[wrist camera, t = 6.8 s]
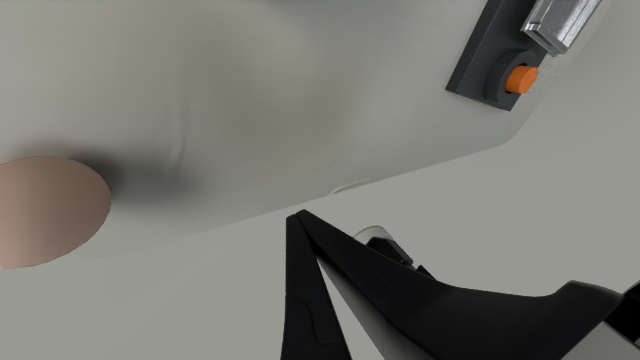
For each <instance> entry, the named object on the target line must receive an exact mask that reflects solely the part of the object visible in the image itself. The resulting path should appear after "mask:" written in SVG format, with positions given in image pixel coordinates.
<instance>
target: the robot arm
mask: <svg viewBox="0 0 640 360" xmlns="http://www.w3.org/2000/svg"><path fill="white" fill-rule="evenodd" d="M316 258H317V259H316ZM317 260H318V262H319V263H320V265H321V266H322V268H323V269H324V271H325V272H326V274H327V275H328V277H329V278H330V280H331V281H332V283H333V284H334V285H335V287H336V288H337V290H338V291H339V293H340V294H341V296H342V297H343V299H344V300H345V302H346V303H347V305H348V306H349V307H350V309H351V310H352V312H353V313H354V315H355V316H356V318H357V319H358V321H359V322H360V324H361V325H362V327H363V328H364V330H365V331H366V333H367V334H368V336H369V337H370V339H371V340H372V342H373V343H374V345H375V346H376V347H377V349H378V350H379V352H380V353H381V355H382V356H383V357H384V359H385V360H640V280H639V281H638V282H636V283H635V284H634V285H632V286H631V287H630V288H629V289H627V290H626V291H625V292H624V293H622V294H620V293H618V292H616V291H613V290H610V289H607V288H605V287H601V286H598V285H593V284H589V283H584V282H579V281H574V280H571V281H569V282H567V283H566V284H565V285H564V286H563V287H561V288H560V289H559V290H557V291H556V292H555V293H553V294H551V295H547V296H539V297H531V296H521V295H513V294H505V293H498V292H490V291H482V290H475V289H467V288H460V287H455V286H451V285H448V284H445V283H442V282H440V281H437V280H436V279H435V278H434V277H433V276H432V275H431V274H430V273H429V272H428V271H427V270H426V269H425V268H423V266H422V265H420V266H419V267H418V268H417V269H415V268H414V267H413V266H412V264H413V260H412V259H411V258H410V257H409V256H408V255H407V254H406V253H405V252H404V250H403V249H402V248H401V247H400V246H399V245H398V244H397V243H396V242H395V241H393V240H389V239H383V238H379V237H372V238H371V239H370V240H369V241H368V242H367V244H366V245H364V244H363V243H361V242H359V241H358V240H356V239H354V238H353V237H351V236H349V235H347V234H346V233H344V232H342V231H341V230H339V229H337V228H336V227H334V226H332V225H331V224H329V223H327V222H325V221H324V220H322V219H320V218H319V217H317V216H315V215H314V214H312V213H310V212H309V211H307V210H305V209H303V210H301V211H299V212H297V213H296V214H293V215H290V216H288V217H287V218H286V296H285V323H284V333H283V342H282V351H281V358H280V360H352V357H351V354H350V352H349V349H348V346H347V344H346V341H345V338H344V335H343V332H342V329H341V327H340V324H339V321H338V318H337V315H336V312H335V310H334V307H333V304H332V301H331V298H330V295H329V293H328V290H327V287H326V284H325V282H324V278H323V276H322V273H321V270H320V267H319V264H318V262H317Z"/></svg>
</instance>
